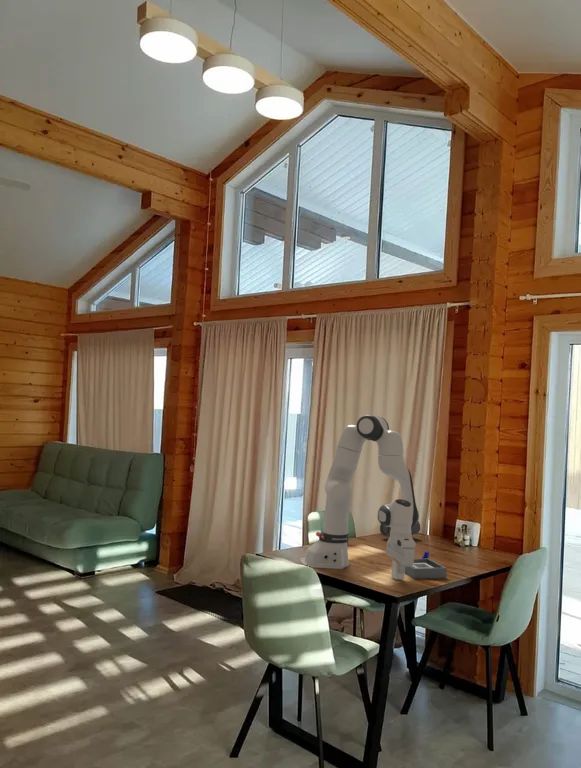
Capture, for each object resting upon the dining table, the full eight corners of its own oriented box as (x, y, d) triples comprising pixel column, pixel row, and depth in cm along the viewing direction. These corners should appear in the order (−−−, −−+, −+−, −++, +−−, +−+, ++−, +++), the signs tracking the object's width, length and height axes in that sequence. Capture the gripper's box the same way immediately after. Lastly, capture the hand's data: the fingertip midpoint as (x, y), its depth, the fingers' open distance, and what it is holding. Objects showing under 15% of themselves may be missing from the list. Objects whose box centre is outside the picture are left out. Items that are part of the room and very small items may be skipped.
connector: (395, 579, 274) (396, 560, 274) (391, 576, 278) (392, 557, 278) (404, 579, 275) (405, 560, 275) (400, 576, 279) (401, 557, 279)
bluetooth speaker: (389, 540, 355) (390, 522, 355) (378, 536, 363) (379, 518, 363) (420, 537, 367) (421, 519, 367) (409, 533, 375) (410, 516, 375)
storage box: (413, 580, 280) (413, 568, 280) (396, 570, 295) (397, 559, 295) (446, 579, 285) (446, 568, 285) (428, 569, 300) (428, 558, 300)
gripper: (383, 533, 286) (381, 564, 286) (403, 544, 266) (401, 578, 266) (397, 533, 288) (394, 564, 287) (417, 544, 268) (415, 578, 268)
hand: (398, 571), depth 277 cm, fingers closed on connector, 4 cm apart
